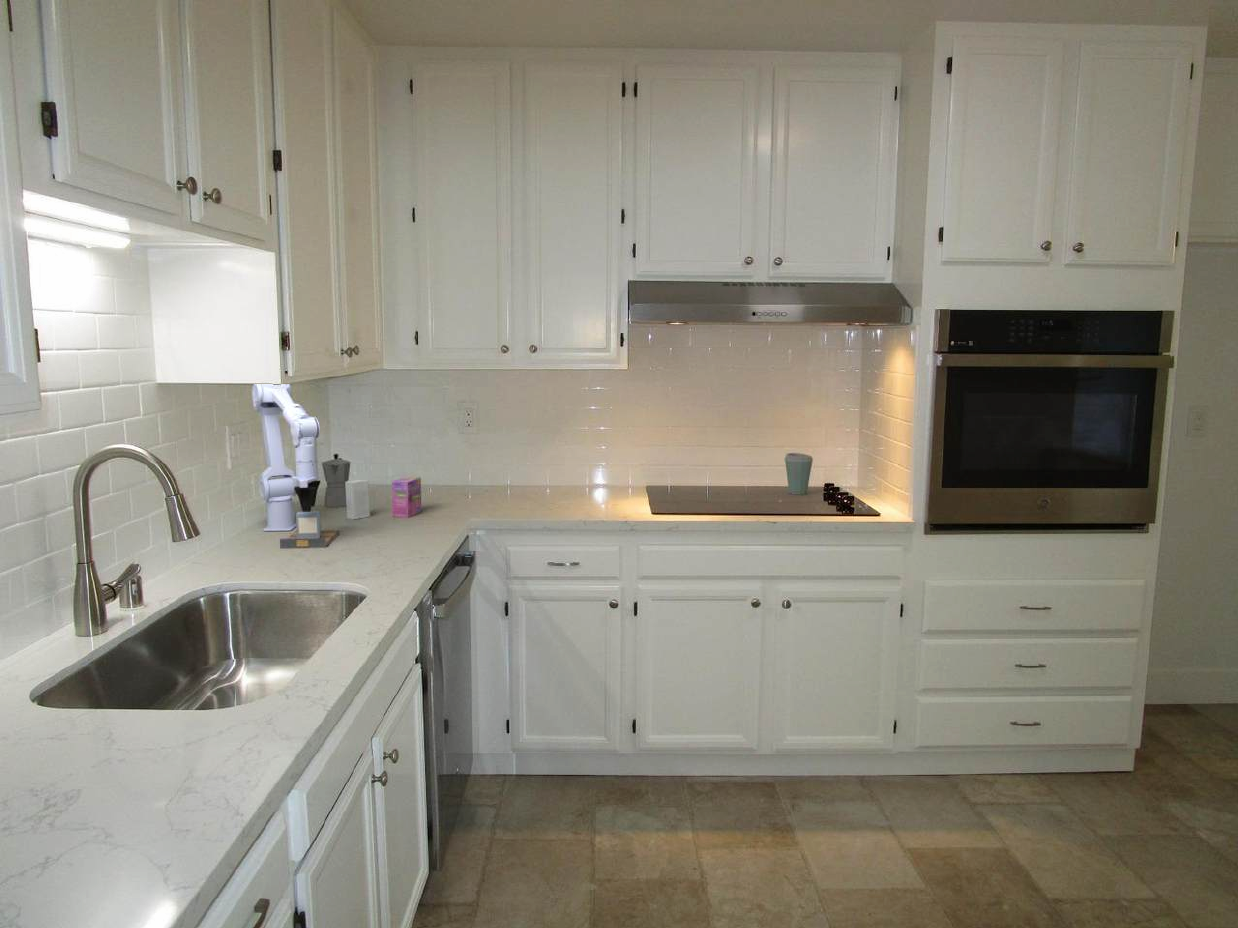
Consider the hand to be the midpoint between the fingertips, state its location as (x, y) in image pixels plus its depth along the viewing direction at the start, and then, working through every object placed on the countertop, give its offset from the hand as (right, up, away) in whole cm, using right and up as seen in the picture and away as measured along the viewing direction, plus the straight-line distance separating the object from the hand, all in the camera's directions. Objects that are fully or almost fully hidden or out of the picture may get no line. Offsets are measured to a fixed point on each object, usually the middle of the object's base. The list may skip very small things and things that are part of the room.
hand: (308, 508), depth 241 cm
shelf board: (0, -9, +2) cm, 9 cm away
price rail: (+1, -10, -6) cm, 12 cm away
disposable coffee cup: (+155, +1, +83) cm, 176 cm away
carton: (0, -8, +1) cm, 8 cm away
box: (+18, -4, +40) cm, 44 cm away
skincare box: (+3, -5, +35) cm, 35 cm away
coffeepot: (-10, -2, +56) cm, 57 cm away
